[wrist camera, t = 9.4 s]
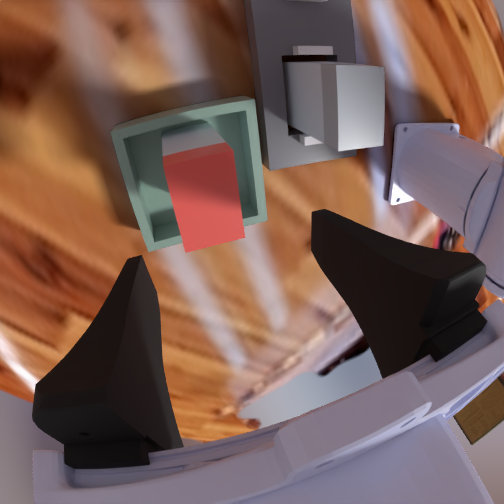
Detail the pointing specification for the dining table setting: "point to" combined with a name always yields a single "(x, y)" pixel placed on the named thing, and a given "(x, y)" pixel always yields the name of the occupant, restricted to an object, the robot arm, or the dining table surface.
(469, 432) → the food packaging
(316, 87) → the block
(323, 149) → the fuse holder
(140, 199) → the tray
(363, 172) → the dining table surface
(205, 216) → the block
